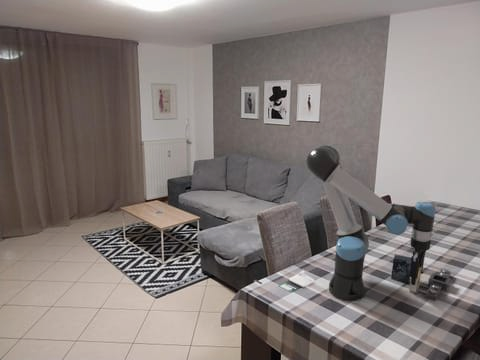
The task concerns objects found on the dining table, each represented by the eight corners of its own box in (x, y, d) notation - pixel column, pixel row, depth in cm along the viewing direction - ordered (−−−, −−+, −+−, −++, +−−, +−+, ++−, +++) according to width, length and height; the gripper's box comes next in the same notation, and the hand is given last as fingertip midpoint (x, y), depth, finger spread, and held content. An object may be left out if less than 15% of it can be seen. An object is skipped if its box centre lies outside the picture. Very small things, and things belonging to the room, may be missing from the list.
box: (390, 278, 163) (393, 258, 161) (392, 273, 168) (394, 253, 166) (409, 283, 160) (412, 262, 157) (410, 278, 164) (412, 257, 162)
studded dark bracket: (440, 302, 144) (441, 295, 143) (420, 296, 149) (421, 288, 148) (454, 277, 166) (455, 270, 165) (437, 272, 170) (438, 266, 170)
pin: (417, 295, 150) (420, 269, 147) (407, 292, 152) (411, 266, 149) (419, 291, 152) (422, 266, 150) (410, 288, 155) (413, 263, 152)
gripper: (425, 246, 138) (417, 299, 143) (435, 235, 151) (428, 284, 156) (405, 241, 143) (398, 293, 148) (417, 231, 155) (410, 278, 160)
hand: (414, 288), depth 152 cm, fingers open, 4 cm apart
